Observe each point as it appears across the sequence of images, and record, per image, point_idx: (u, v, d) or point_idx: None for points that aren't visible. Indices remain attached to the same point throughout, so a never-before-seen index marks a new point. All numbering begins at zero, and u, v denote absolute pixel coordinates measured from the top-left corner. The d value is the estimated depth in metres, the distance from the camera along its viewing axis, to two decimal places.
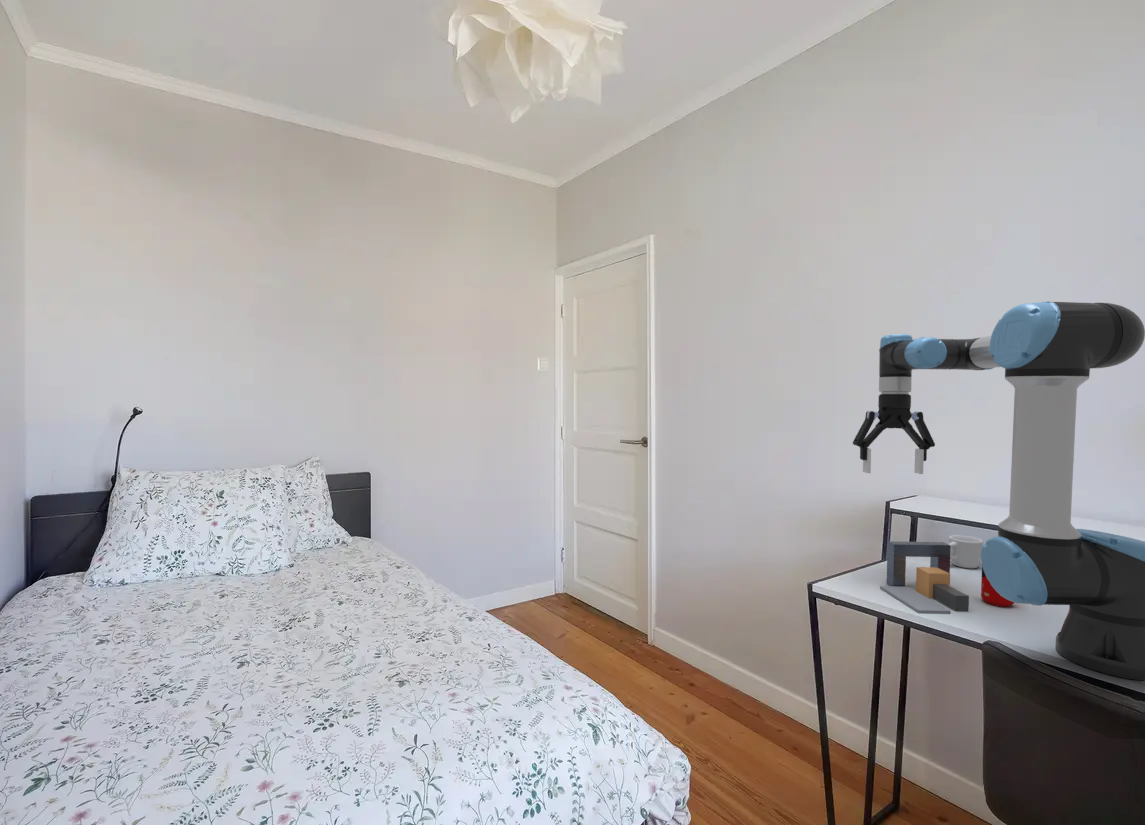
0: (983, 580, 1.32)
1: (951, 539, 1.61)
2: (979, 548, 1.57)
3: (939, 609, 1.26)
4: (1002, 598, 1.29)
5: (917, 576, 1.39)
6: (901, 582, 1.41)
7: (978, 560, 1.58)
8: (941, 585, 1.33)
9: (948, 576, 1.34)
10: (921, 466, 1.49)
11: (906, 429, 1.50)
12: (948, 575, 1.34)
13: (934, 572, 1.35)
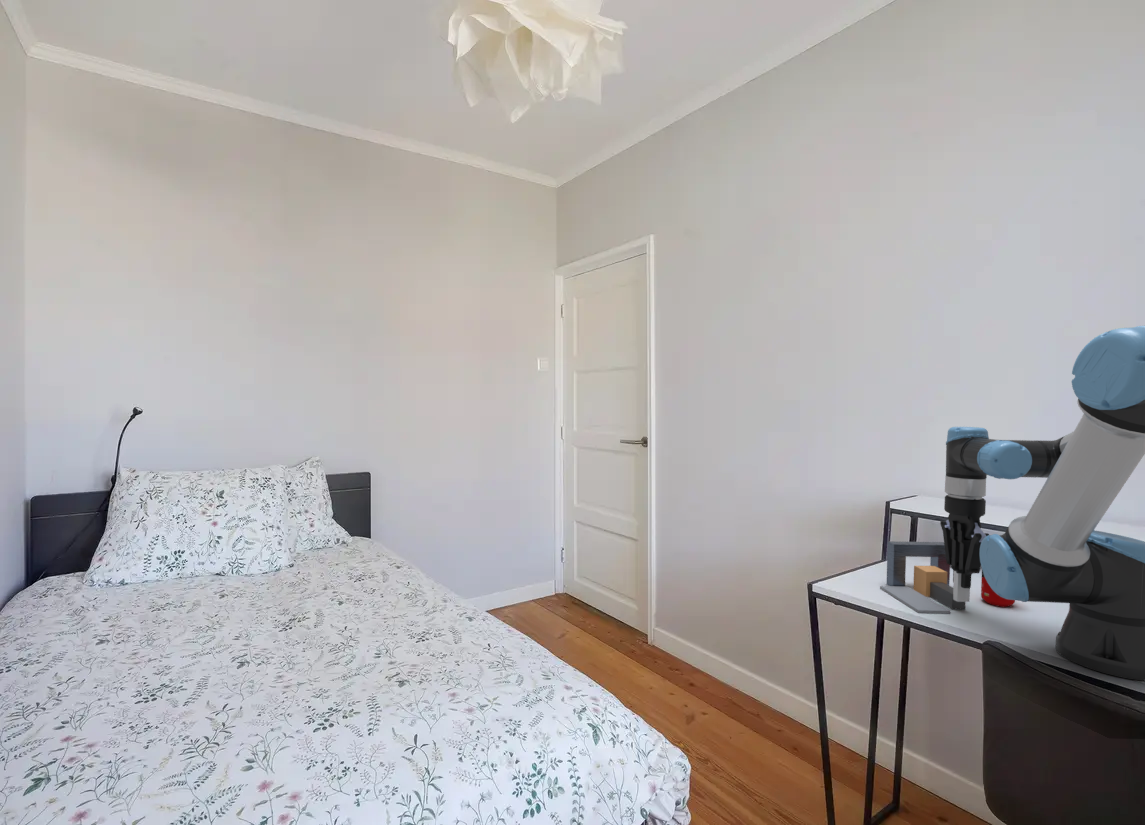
0: (983, 580, 1.32)
1: None
2: None
3: (939, 609, 1.26)
4: (1002, 598, 1.29)
5: (915, 574, 1.40)
6: (901, 582, 1.41)
7: None
8: (939, 584, 1.34)
9: (945, 575, 1.35)
10: (956, 592, 1.26)
11: None
12: (945, 573, 1.35)
13: (931, 570, 1.36)
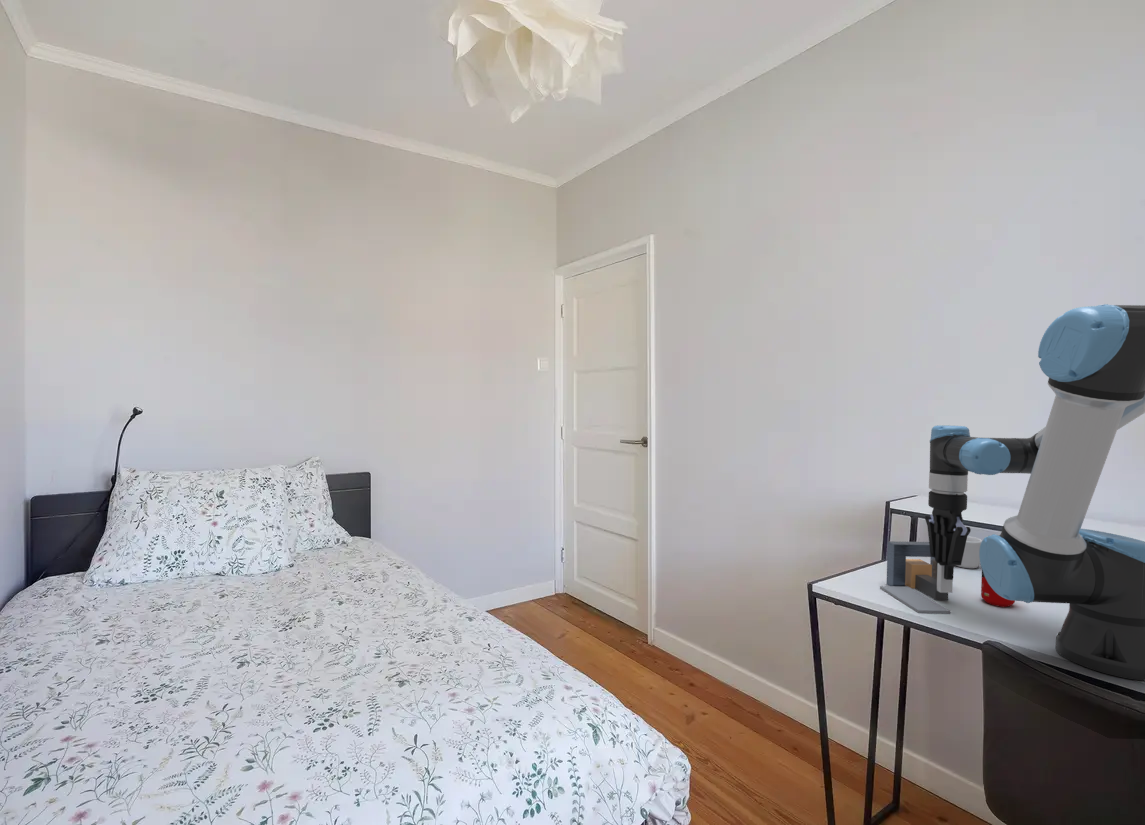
0: (983, 580, 1.32)
1: None
2: (979, 548, 1.57)
3: (939, 609, 1.26)
4: (1002, 598, 1.29)
5: None
6: (901, 582, 1.41)
7: (978, 560, 1.58)
8: (923, 576, 1.40)
9: (930, 567, 1.41)
10: (939, 583, 1.32)
11: None
12: (930, 566, 1.41)
13: (917, 563, 1.42)
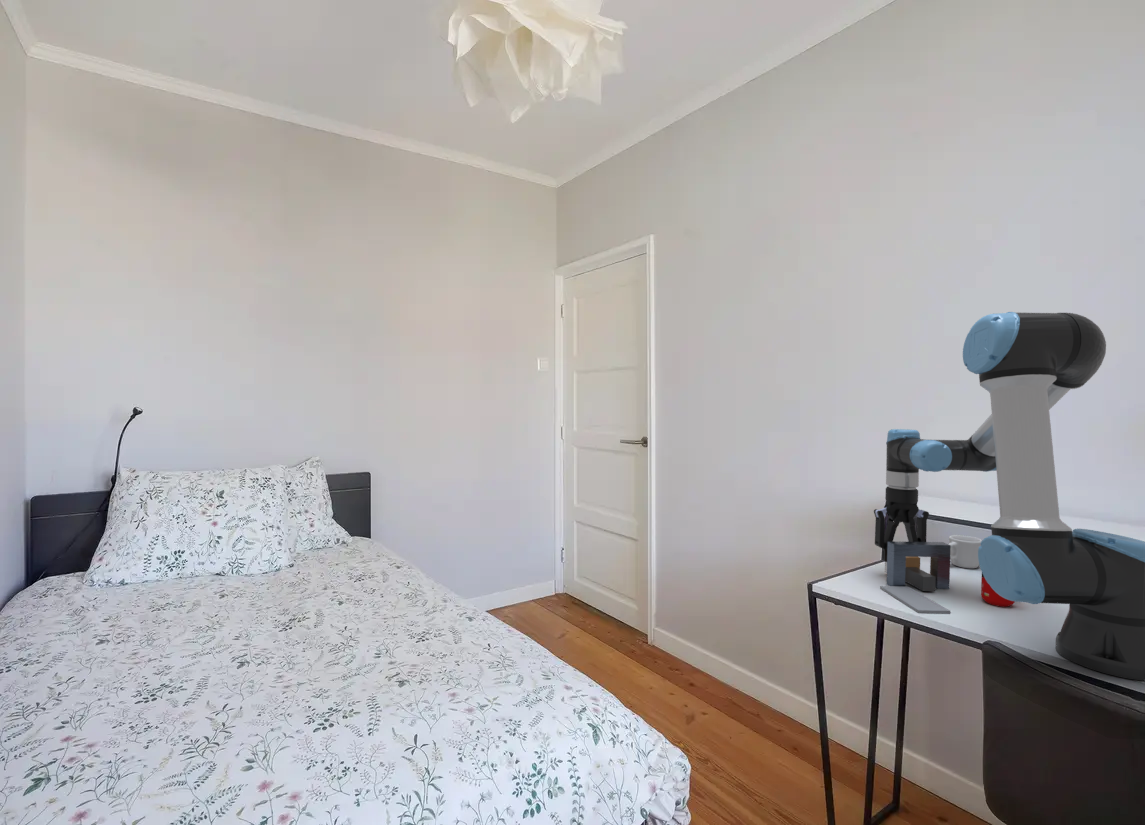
0: (983, 580, 1.32)
1: (951, 539, 1.61)
2: None
3: (939, 609, 1.26)
4: (1002, 598, 1.29)
5: None
6: (901, 582, 1.41)
7: (978, 560, 1.58)
8: (912, 568, 1.45)
9: (918, 560, 1.46)
10: None
11: (907, 524, 1.50)
12: (918, 559, 1.46)
13: None
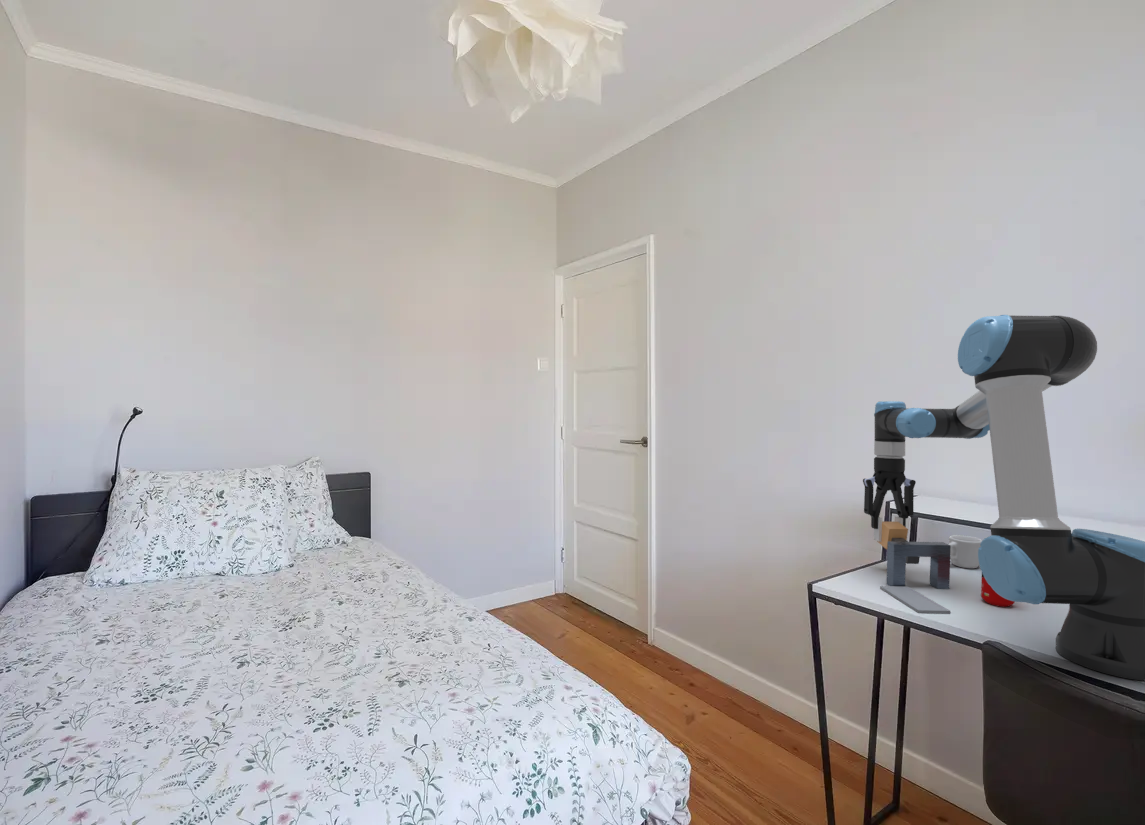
0: (983, 580, 1.32)
1: (951, 539, 1.61)
2: None
3: (939, 609, 1.26)
4: (1002, 598, 1.29)
5: None
6: (901, 582, 1.41)
7: (978, 560, 1.58)
8: (899, 539, 1.51)
9: (906, 531, 1.52)
10: None
11: (895, 492, 1.56)
12: (906, 530, 1.51)
13: (894, 527, 1.52)
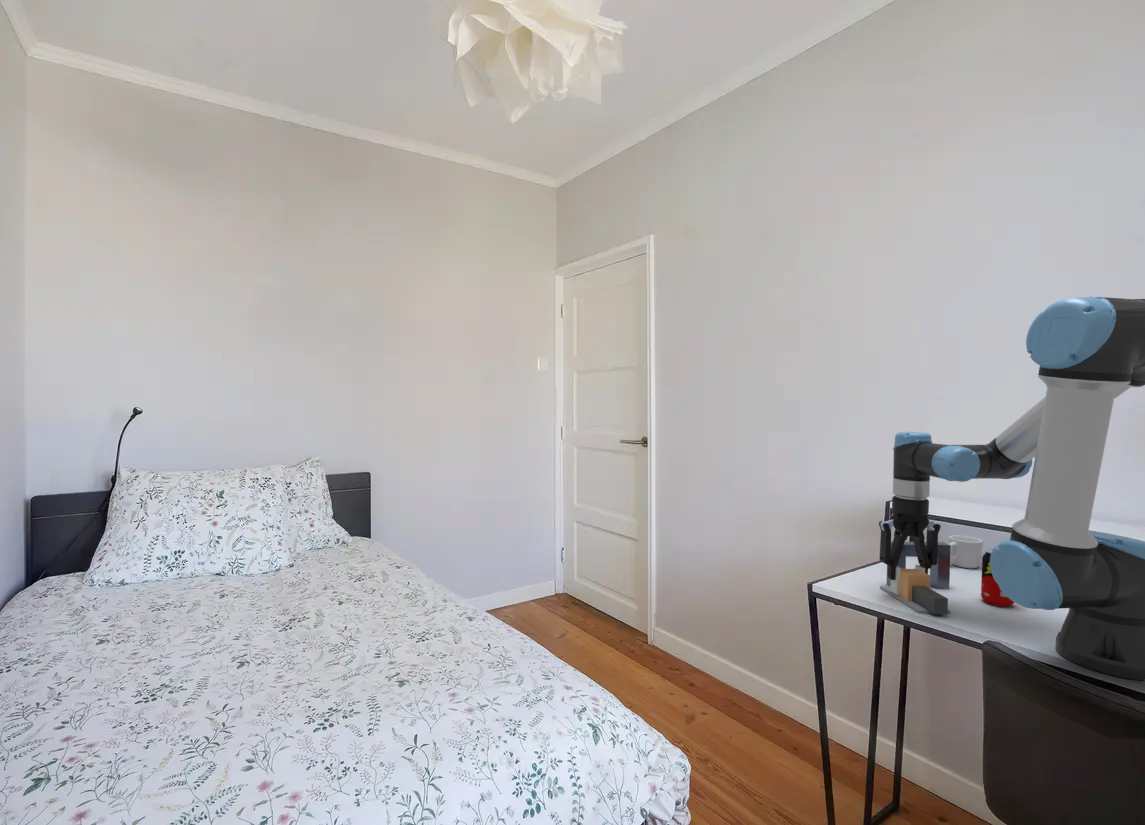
0: (983, 580, 1.32)
1: (951, 539, 1.61)
2: (979, 548, 1.57)
3: None
4: (1002, 598, 1.29)
5: None
6: None
7: (978, 560, 1.58)
8: (921, 587, 1.29)
9: (928, 578, 1.31)
10: None
11: (916, 538, 1.34)
12: (928, 577, 1.31)
13: (913, 574, 1.31)
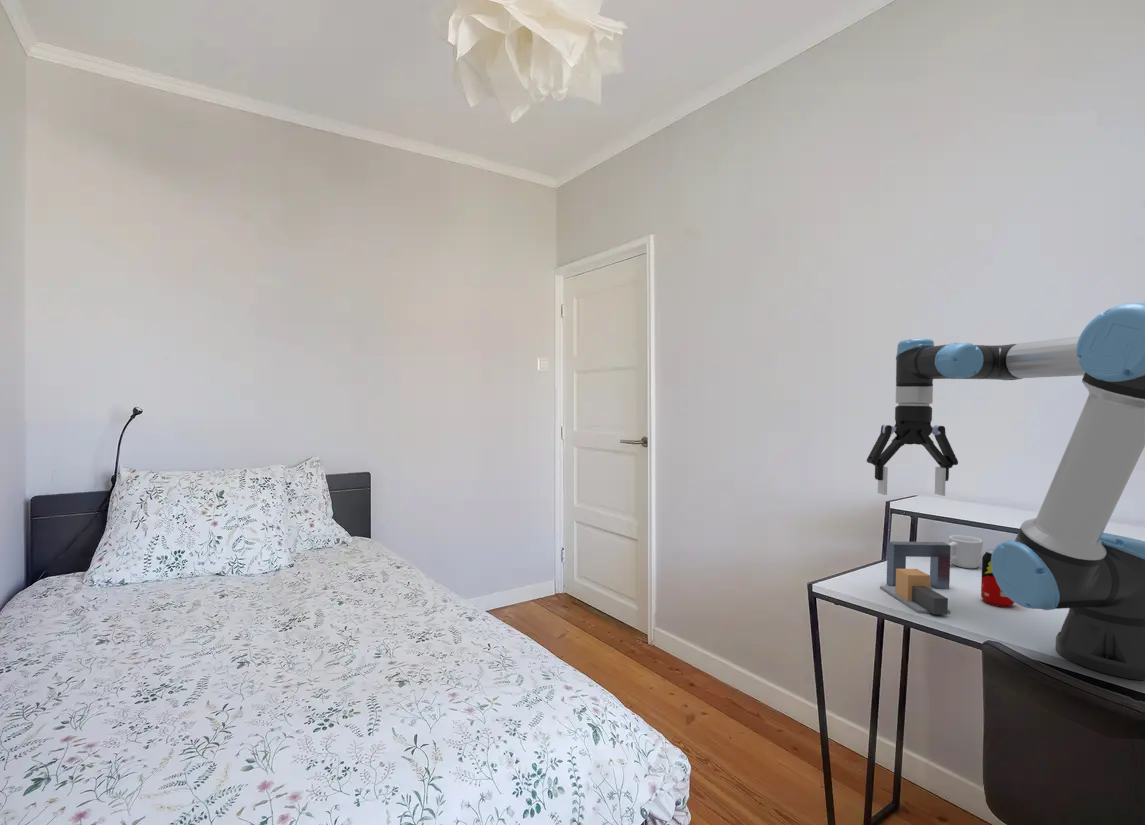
0: (983, 580, 1.32)
1: (951, 539, 1.61)
2: (979, 548, 1.57)
3: None
4: (1002, 598, 1.29)
5: (897, 578, 1.35)
6: None
7: (978, 560, 1.58)
8: (921, 587, 1.29)
9: (928, 578, 1.31)
10: (943, 487, 1.33)
11: (926, 445, 1.33)
12: (928, 577, 1.31)
13: (913, 574, 1.31)
